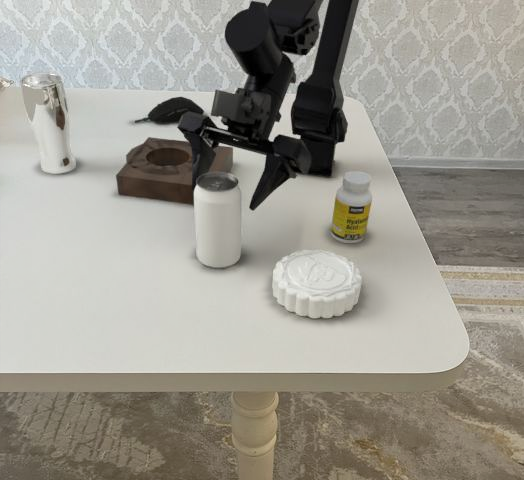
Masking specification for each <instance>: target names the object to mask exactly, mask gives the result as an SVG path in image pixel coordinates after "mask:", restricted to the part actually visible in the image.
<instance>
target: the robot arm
mask: <svg viewBox="0 0 524 480" xmlns="http://www.w3.org/2000/svg"><path fill="white" fill-rule="evenodd" d="M323 2H324V0H270V1H269V2H268V4H267V3H266V2H262V1H258V0H257V1H256V0H251V1H250V3H249V6H248V8H245V9H243V10H240V11H239V12H237V13H236V14H234V15H233V16H232V17H231V19H230V20H228V21H227V23H226V25H225V28H224V40H225V43H226V44H227V46H228V48H229V49H230V51H231V53H232V55H233V56H234V58H235V59H236V61H237V63H238V64H239V66H240V67H241V70H242V71H243V72H244V73H245V74H246V75H247V78H246V80H245V82H244V85H243V88H242V87H237V89H236V90H235V91H234V93H233V92H229V91H225V90H221V89H215V90H214V96H213V101H212V104H211V105H212V106H211V111H210V116H213V117H215V118H219V117H221V119H220V122H221V123H222V124H223V126H226V127H227V128H226V129H224V128H221V127H218V126H217V124H216V123H215V122H214V121H213V120H212V118H211V117H210V116H209V115H205V114H203V115H201V114H197V113H193V112H189V111H188V112H186V113H185V114H183V115H182V116H181V119H180V121H179V122H178V124H177V127H176V128H177V130H179V131H180V132H181V134H182V135H183V138H184V139H185V141H187V142H189V143H190V145H191V149H192V160H193V163H192V165H193V166H192V191H193V192H194V189H195V187H196V185H197V183H196V180H197V178H198V177H199V176H201V175H203V174H205V173H208V172H209V169H210V167H211V165H212V163H213V161H214V159H215V157H216V155H217V154H216V153H215V152H214V151H213V149H215V148H216V147H218V146H220V144H221V145H224V146H228V147H233V148H237V149H241V150H245V151H249V152H252V153H256V154H260V155H262V156H263V155H264V156H265V162H264V168H263V171H262V173H261V176H260V178H259V180H258V182H257V185H256V187H255V189H254V191H253V193H252V196H251V200H250V203H249V207H248V208H249V210H250V211H252V212H254V211H255V210H257V208H258V207H259V206H260V205H261V204H262V203H263V202H265V200H266V199H268V198H269V196H271V194H273V192H275V191H276V190H277V189H278V188H280V186H282V185H283V184H285V183H286V182H287V181H289V180H290V179H297V177H298V175H301V176H307V175H309V176H317V177H325V178H331V177H332V175H333V171H334V168H335V164H336V160H335V154H336V149H337V148H336V147H337V144H340V143H344V142H345V141H346V136H347V135H346V134H347V132H348V127H349V123H348V120H347V118H346V115H345V112H344V109H343V108H344V102H345V98H344V94H343V90H342V86H341V81H340V79H341V75H342V71H343V67H344V62H345V60H346V56H347V50H348V47H349V42H350V39H351V35H352V30H353V27H354V24H355V18H356V15H357V11H358V7H359V3H360V0H328V2H327V7H326V12H325V16H324V20H323V23H322V29H321V22H320V17H319V11H320V9H321V7H322V4H323ZM320 29H321V33H320ZM319 36H320V38H319ZM318 39H319V41H318V46H317V50H316V55H315V58H314V63H313V68H312V71H311V74H310V75H309V76H308V77H307V78H306V79H305V80H304V81H300V82H299V83H298V85H297V87H296V88H297V89H296V93H295V98H294V101H293V102H292V104H291V108H290V124H291V132H292V133H291V134H292V135H294V136H299V138H296V137H293V136H288V135H285V134H278V135H276V136H274V138H273V141H271V140H270V139H269V138H270V137H271V134H272V131H273V128H274V125H275V123H280V121H281V118H282V114H281V112H280V110H281V107H282V105H283V102H284V100H285V97H286V94H287V92H288V89H289V87H290V84H296V82H297V74H296V68H295V67H294V62H293V61H292V60H291V58H290V57H289V56H288V54H290V55H296V56H299V57H303V56H307V55H308V54H309V53H310V51H311V50H312V49H313V48H314V47H315V46H316V43H317V40H318Z"/></svg>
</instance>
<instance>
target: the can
mask: <svg viewBox="0 0 524 480" xmlns="http://www.w3.org/2000/svg"><path fill="white" fill-rule="evenodd" d="M196 183H197V185H196V187H195V189H194V205H193V210H194V212H193V213H194V214H193V215H194V232H195V251H196V258H197V260H198V261H199V263H201V264H202V265H203V266H205V267H207V268H211V269H226V268H230V267H232V266H234V265H235V264H236V263H237V262H238V261H239V260H240V258H241V256H242V255H241V254H242V253H241V251H242V190H241V188H240V185H239V179H238V177H236V176H235V175H234V174H232V173H230V172H229V173H225V172H209V173H205V174H203V175H201V176H199V177H198V178H197V180H196Z"/></svg>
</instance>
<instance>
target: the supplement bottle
mask: <svg viewBox="0 0 524 480" xmlns="http://www.w3.org/2000/svg"><path fill="white" fill-rule="evenodd" d="M371 181H372V178H371V176H370V175H369V174H367V173H366V172H363V171H359V170H358V171H357V170H352V171H347V172H345V173H344V174H343V178H342V185H341V186H340V187H338V189H337V190H336V193H335V199H334V204H333V205H334V206H333V213H332V219H331V227H330V234H331V237H333V239H335V240H336V241H338V242H340V243H343V244H344V243H345V244H357V243H360V242H361V241H363V240H364V239H365V236H366V233H367V227H368V223H369V217H370V213H371V212H370V211H371V207H372V202H373V194H372V193H373V192H371V189H370V187H371Z"/></svg>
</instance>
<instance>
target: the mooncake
mask: <svg viewBox="0 0 524 480" xmlns="http://www.w3.org/2000/svg"><path fill="white" fill-rule="evenodd" d="M271 282H272V284H271V288H272V295H273V297H274V298H275V299H276V300H277V301H276V302H277V303H278V304H279V305H280V306H282V307H284V308H285V309H286V311H288V312H291V313H295V314H296V315H298V316H300V317H309V318H311V319H319V318H322V319H331V318H332V317H333V316H334V317H339V316H340V317H341V316H342V315H343V314H344V313H345V312H346V313H347V312H350V311H352V310H353V308H354V306H355V305H357V304H358V303H359V299H360V294H361V288H362V283H363V276H362V275H361V270H360V269H359V267H356V265H355V263H354V262H353V261H351V260H348V259H347V257H345V256H344V255H337V254H336V253H335V252H332V251H325V250H324V249H322V250H321V249H315V250H313V249H303V250H302V251H294V252H292V253H291V254H289V255H285V256H283V257H282V258H281V260H279V261H277V262H276V263H275V268H274V269H273V270H272V281H271Z"/></svg>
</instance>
